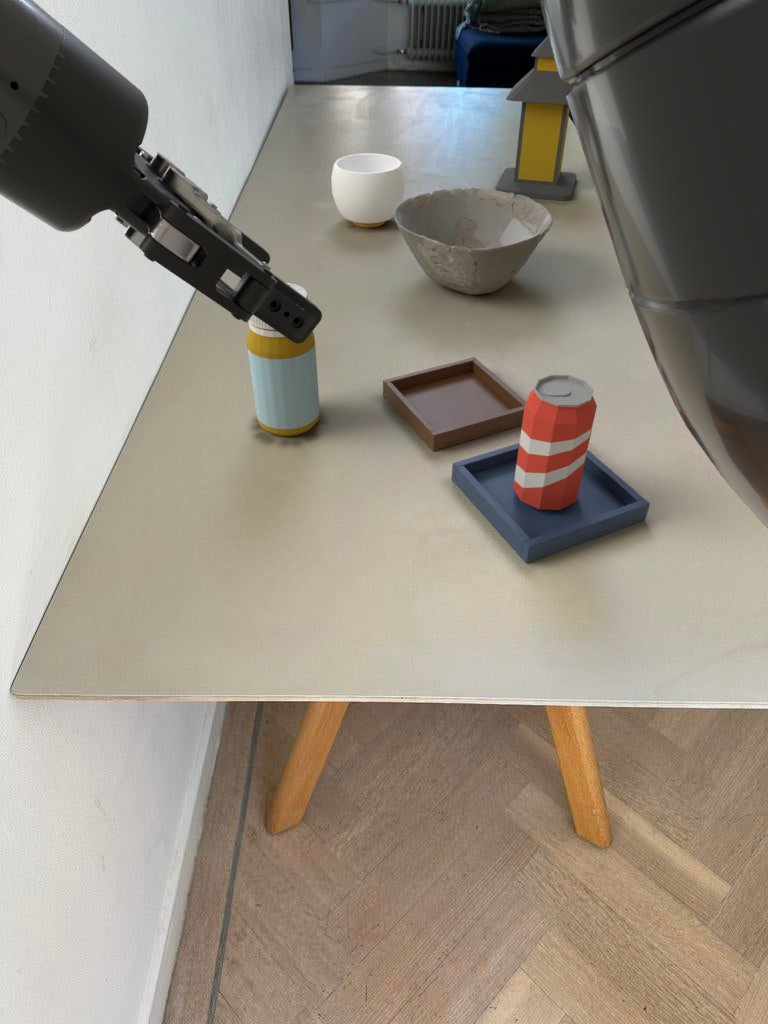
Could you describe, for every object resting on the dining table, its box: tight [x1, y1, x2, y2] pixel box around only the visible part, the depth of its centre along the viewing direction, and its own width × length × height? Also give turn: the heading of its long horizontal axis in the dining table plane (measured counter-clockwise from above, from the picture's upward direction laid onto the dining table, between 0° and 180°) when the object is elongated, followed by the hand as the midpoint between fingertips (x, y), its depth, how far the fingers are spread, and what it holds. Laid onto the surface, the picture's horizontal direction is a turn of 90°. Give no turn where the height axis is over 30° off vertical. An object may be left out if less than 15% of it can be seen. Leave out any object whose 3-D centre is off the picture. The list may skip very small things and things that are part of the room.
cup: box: [330, 152, 406, 228], centre depth 129 cm, size 12×12×10 cm
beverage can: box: [513, 374, 598, 510], centre depth 71 cm, size 6×6×12 cm
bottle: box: [246, 282, 321, 437], centre depth 81 cm, size 7×7×15 cm
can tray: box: [451, 442, 651, 564], centre depth 74 cm, size 14×14×2 cm
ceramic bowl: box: [394, 187, 553, 296], centre depth 110 cm, size 22×23×10 cm
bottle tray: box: [382, 356, 527, 452], centre depth 87 cm, size 12×12×2 cm
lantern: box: [495, 35, 578, 202], centre depth 136 cm, size 14×14×30 cm
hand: (283, 296), depth 44 cm, fingers open, 8 cm apart
